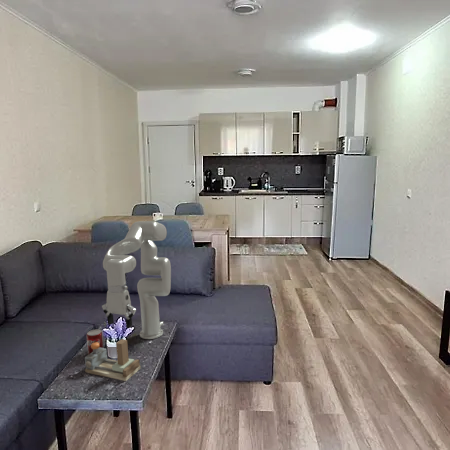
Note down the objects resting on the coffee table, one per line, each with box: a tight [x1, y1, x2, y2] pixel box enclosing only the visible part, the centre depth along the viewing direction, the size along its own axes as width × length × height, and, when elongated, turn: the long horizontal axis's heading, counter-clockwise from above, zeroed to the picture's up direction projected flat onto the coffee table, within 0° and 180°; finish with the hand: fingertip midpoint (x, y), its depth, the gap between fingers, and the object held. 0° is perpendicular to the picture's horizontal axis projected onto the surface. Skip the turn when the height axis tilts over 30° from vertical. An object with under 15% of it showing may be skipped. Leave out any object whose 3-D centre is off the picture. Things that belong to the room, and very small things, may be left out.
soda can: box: [86, 329, 104, 355], centre depth 194 cm, size 7×7×12 cm
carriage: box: [112, 338, 135, 372], centre depth 177 cm, size 8×6×12 cm
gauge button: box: [91, 342, 99, 354], centre depth 183 cm, size 4×4×5 cm
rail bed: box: [84, 347, 141, 382], centre depth 180 cm, size 11×22×7 cm, turn 68°
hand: (119, 325), depth 174 cm, fingers open, 9 cm apart
